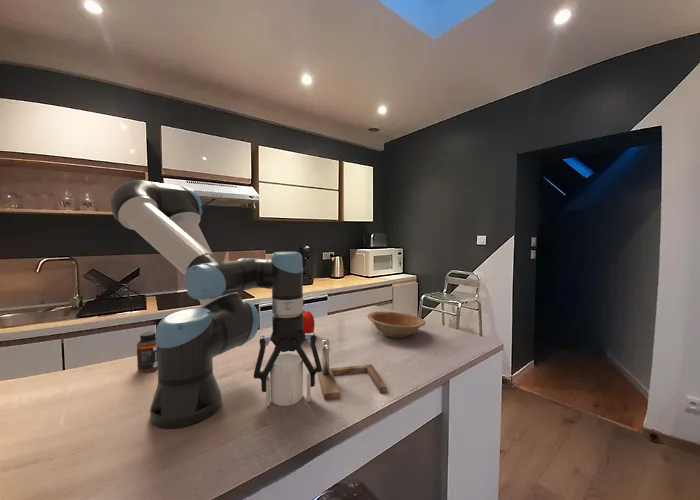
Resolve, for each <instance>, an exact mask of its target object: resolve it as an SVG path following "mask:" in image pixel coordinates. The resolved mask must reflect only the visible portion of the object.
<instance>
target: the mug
mask: <svg viewBox="0 0 700 500" xmlns="http://www.w3.org/2000/svg"><path fill="white" fill-rule="evenodd" d="M303 364H304V362H303V361H302V359H301V357H300V356H299V354H298V353H294V352H283V353H280V354H279V356H278V357H277V359H276V361H275V363H274V365H273V367H272V368H271V370H270V372H269V375H270V402H272V403H273V404H274V405H276V406H278V407H290V406H294V405H296V404H297V403H298V402H300V401H301V400H302V398H303V395H304V367H303V366H304V365H303Z"/></svg>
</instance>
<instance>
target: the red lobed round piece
mask: <svg viewBox="0 0 700 500" xmlns="http://www.w3.org/2000/svg"><path fill="white" fill-rule="evenodd" d="M302 314H303V331H304V333H309V334H310V333H311V332H314V333H315V318H314V315H313V313H312V312H311V311H308V310H303V312H302ZM304 340H307V339H306V338H305V339H304Z"/></svg>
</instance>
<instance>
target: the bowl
mask: <svg viewBox="0 0 700 500" xmlns="http://www.w3.org/2000/svg"><path fill="white" fill-rule="evenodd" d="M367 319H368V320H369V321H371V322H372V324H373V325H374V326H375V328H376V329H377V330H378V331H380V332H381V333H382V334H383V335H385V336H387V338H391V339H392V338H393V339H403V337H404V338H406V337H408V336H410V335H412V334H414V333H416V332H417V331H418V330H419V328H422V327H423V326H425V325H426V320H424V319H423V318H421V317H419V316H416V315H412V314H410V313H405V312H396V311H374V312H370V313H369V314H368V315H367Z"/></svg>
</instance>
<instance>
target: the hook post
mask: <svg viewBox="0 0 700 500" xmlns="http://www.w3.org/2000/svg"><path fill="white" fill-rule="evenodd" d="M321 348H322V349H321V353H322V355H321V357H322V358H321V360H322V361H321V363H322V364H321V367H322V374H323V375H328V374H329V369H330V351H331V348H330V339H329V338H323V339H322V347H321Z"/></svg>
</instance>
